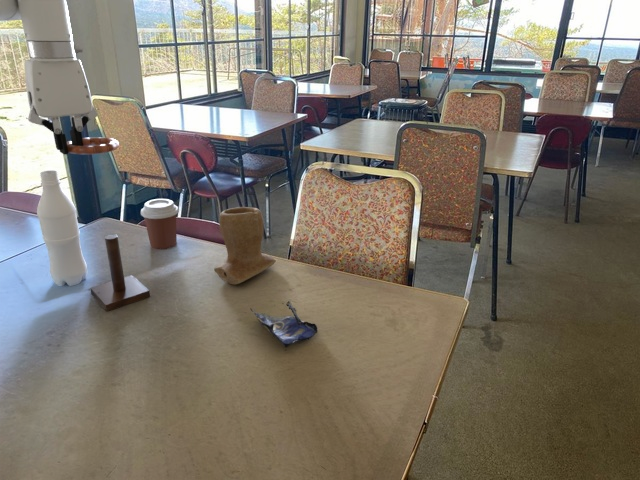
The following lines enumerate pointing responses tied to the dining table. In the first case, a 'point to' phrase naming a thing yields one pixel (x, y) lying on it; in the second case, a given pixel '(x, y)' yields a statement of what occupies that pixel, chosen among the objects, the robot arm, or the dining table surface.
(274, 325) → the snack package
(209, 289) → the dining table surface
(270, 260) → the stone cup
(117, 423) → the dining table surface
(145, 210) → the coffee cup
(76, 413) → the dining table surface
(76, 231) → the water bottle
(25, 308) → the dining table surface
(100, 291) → the ring toss peg
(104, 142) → the hanging ring
